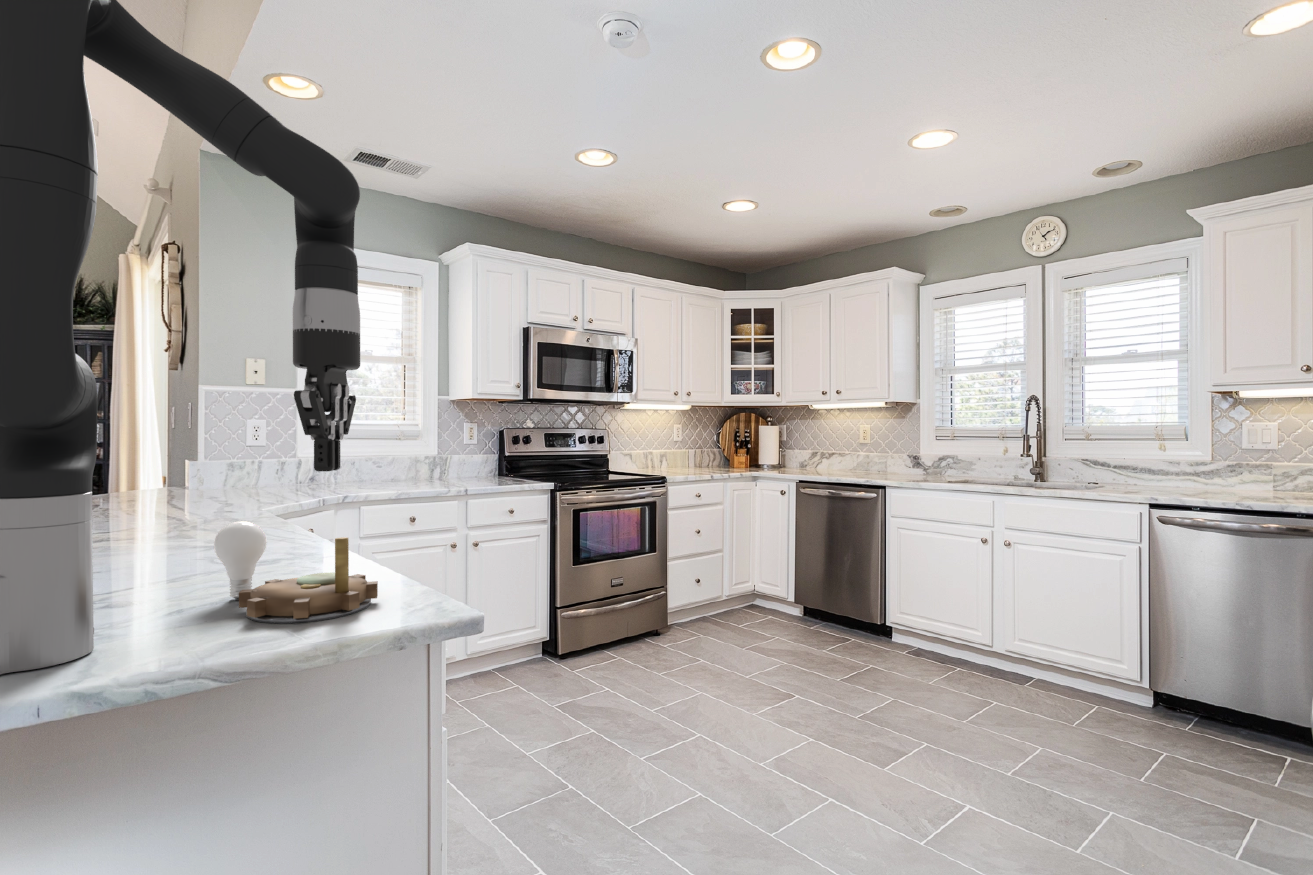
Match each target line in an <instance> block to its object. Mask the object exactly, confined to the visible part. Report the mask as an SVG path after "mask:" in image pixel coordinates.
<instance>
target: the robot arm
mask: <svg viewBox="0 0 1313 875" xmlns="http://www.w3.org/2000/svg"><path fill="white" fill-rule="evenodd" d="M84 58H87V59H89V60H91V61H93V62H94V63H96V64H98V65H100V66H101V67H103V68H105V69H106V70H107V71H109V72H111V73H113V74H114V75H116V76H117V77H119V79H121V80H123V81H124V82H127V83H128V84H129V85H130V86H133V87H134V88H136V89H137V90H138V91H139V92H141V93H143V94H144V95H145V96H146V97H148V98H150V99H151V100H153V101H154V102H155V103H156V104H158V105H160V106H161V107H162V108H164V110H166V111H168V112H169V113H170V114H172V116H174V117H176V118H177V119H178V120H179V121H181V122H182V123H183V124H184V125H186V126H188V127H189V129H191V130H193V132H195V133H196V134H198V135H199V137H201V138H203V139H204V140H205V141H207V142H208V143H210V144H211V145H212V146H213V147H215V148H216V149H218V151H220V152H221V153H222V154H224V155H226V157H228V158H229V159H230V160H232V161H233V162H235V163H236V164H237V165H238V166H240V167H241V168H242V169H244V170H246V171H247V172H249V173H250V174H253V175H255V176H256V177H266V178H267V179H269V181H272V182H273V183H274V184H276V185H278V186H279V187H280V188H281V189H283V190H284V191H286V192H287V193H288V194H290V195H291V196H292V197H293V203H294V204H293V205H294V207H293V208H294V222H295V223H294V224H295V236H296V240H295V241H296V252H295V259H294V298H293V305H292V364H293V366H294V367H295V368H298V369H304V370H306V373H305V378H304V385H303V387H304V388H303V390H301V389H299V390H296V389H295V391H294V392H293V399H294V403H295V404H296V409H297V412H298V416H299V420H300V422H301V426H302V430H303V434H304V435H305V436H310V440H312V441H313V469H314V470H315V471H316V472H333V471H338V470H340V469H341V441H342V440H344V436H345V435H348V434H349V432H350V427H351V424H352V419H353V414H354V411H355V406H356V401H357V397H356V395H355V394H350V386H349V383H348V379H347V378H348V377H347V371H355V370H358V369H359V368H360V367H361V312H360V304H359V303H360V302H359V296H358V295H359V294H358V293H359V292H358V291H359V276H358V274H359V266H358V260H357V259H358V258H357V255H356V253H355V250H354V249H355V217H356V210H357V208H358V205H359V204H360V203H359V202H360V198H361V190H360V186H359V182H358V181H357V179H356V176H354V174H353V173H352V172H351V170H350V169H349V168H348V167H347V166H346V165H345V164H344V163H343V162H342V161H341V160H339V159H338V158H337V157H336V156H334V155H333V154H331V153H330V152H328V151H327V150H325V149H324V148H323V147H321V146H319V145H317V144H316V143H315V142H312V141H311V140H309V139H308V138H305V137H304V136H303V135H301V134H299V133H297V132H294V131H293V130H291V129H289V128H288V127H287V126H285V125H284V124H283V123H282V122H281V121H280V120H278V118H276V117H275V116H274V115H272V113H270V112H268V110H266V109H265V108H264V107H263V106H262V105H261V104H259V103H258V102H256V101H255V100H254V99H253V98H251V97H250V96H249V95H248V94H246V93H245V92H243V91H242V90H241V89H240V88H238V87H237V86H236V85H235V84H234V83H232V82H230V81H229V80H227V79H226V78H224V77H222V76H221V75H219V74H217V73H216V72H214V71H212V70H210V69H209V68H207V67H205V66H203V65H201V64H199V63H198V62H196V61H194V60H192V59H190V58H188V57H187V56H185V55H183V54H181V53H180V52H178V51H176V50H175V49H173V48H172V47H170V46H168V45H167V44H166V43H164V42H163V41H162V40H160V39H159V38H157V36H155V35H154V34H153V33H151V32H150V31H149V30H148V29H146V28H145V27H144V26H143V25H142V24H141V23H140V22H139V21H138V20H137V19H136V18H135V17H134V16H132V14H130V12H129V11H127V9H125V7H124V6H123V5H122V4H121V3H120V2H119V1H118V0H0V675H4V674H8V673H13V672H23V671H30V670H36V669H42V668H48V667H52V666H56V665H59V664H60V665H61V664H64V663H67V662H71V661H74V660H76V659H80V658H81V657H84V656H86V655H88V654H90V653H91V652H92V651H94V648H95V646H94V645H95V644H94V643H95V642H94V640H95V638H94V637H95V636H94V635H95V627H94V626H95V625H94V565H93V564H94V562H93V561H94V560H93V559H94V558H93V557H94V556H93V553H94V551H93V542H94V541H93V476H94V470H95V466H96V461H97V455H98V452H97V451H98V405H99V404H98V388H97V387H98V386H97V381H96V378H95V375H94V372H93V370H92V369H91V367H90V366H89V365H88V363H87V362H86V361H85V360H84V359H83V358H82V357H81V356H80V355H79V354H77V353H76V350H75V348H76V346H75V339H74V318H73V317H74V314H73V313H74V311H73V310H74V309H73V307H74V295H75V294H74V293H75V287H76V283H77V279H78V275H79V274H80V270H81V268H82V265H83V262H84V261H85V260H84V259H85V257H86V254H87V251H88V248H89V246H90V242H91V239H92V236H93V231H94V228H95V227H94V226H95V223H96V214H97V200H98V183H99V182H98V181H99V177H98V175H99V168H98V167H99V166H98V164H99V163H98V150H97V145H96V136H95V129H94V122H93V117H92V116H93V115H92V111H91V107H90V101H89V95H88V91H87V85H86V76H85V67H84V66H85V65H84V64H85V63H84ZM326 413H328V414H326Z"/></svg>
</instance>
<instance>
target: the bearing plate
mask: <svg viewBox="0 0 1313 875" xmlns="http://www.w3.org/2000/svg"><path fill="white" fill-rule="evenodd" d="M371 604H372V599H366V600H365V601H363V602H362V603H360V604H359V608H357V609H353V610H350V611H348V610H343V609H341V610H337V611H332V612H326V613H319V614H311V615H309V617H308V618H296V619H293V616H270V615H264V616H260V617H256V618H254V617H249V616H247V609H246V610H245V616H246V618H247V619H249V620H250V621H253V622H257V623H265V624H277V625H278V624H284V625H285V624H286V625H287V624H301V623H302V624H304V623H312V622H313V623H315V622H320V621H327V620H332V619H338V618H342V617H347V616H349V615H352V614H356V613H358V612H361V611H364V610H365V609H367V608H369V606H371Z"/></svg>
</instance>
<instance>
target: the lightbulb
mask: <svg viewBox="0 0 1313 875" xmlns="http://www.w3.org/2000/svg"><path fill="white" fill-rule="evenodd" d="M267 540H268V539H267V535H266V533H265V532H264V530H263V528H261V526H259V525H258V524H256V523H255V522H252V521H249V520H248V521H246V520H237V521H233V522H230V523H228V524H226V525H225V526H223V527H222V528H221V529H220V530H219V531H218V532H217V534H216V536H215V538H214V541H213V549H214V553H215V555H216V557H217V558H218V560H219V561H220V562H221V564H223V566H224V569H225V571H226V575H227V577H228V579H229V588H230V589H229V591H230V592H229V596H230V597H231V598H233V599H236V600H238V601H239V592H240V591H241V590H247V589H253V588H252V587H253V585H252V584H253V582H252V581H253V575H254V574H255V571H256V567H257V564H258V563H259V561H260V559H261V558H262V557H263V555H264V553H265V551H266V549H267V544H268V541H267Z"/></svg>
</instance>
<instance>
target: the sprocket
mask: <svg viewBox="0 0 1313 875" xmlns="http://www.w3.org/2000/svg"><path fill="white" fill-rule="evenodd" d="M349 542H350V541H349V537H346V536H345V537H344V536H343V537H336V538H334V572H319V573H318V572H317V573H310V574H306V575H301V576H299V577H293V578H287V579H279V578H278V579H275V578H274V579H270V580H266V581H264V584H261V585H259V586H256V587H254V588H252V589H247V590H241V591H240V592H239V600H238V608H239V609H242V608H244V609H245V608H246V610H247V616H249V617H254V618H256V617H260V616H264V615H270V616H293V619H296V618H308V617H309V615H311V614H319V613H326V612H332V611H337V610H341V609H343V610H348V611H350V610H353V609H357V608H359V604H360V603H362V602H363V601H365V600H366V599H371V600H373V599H378V592H379V591H378V590H379V589H378V587H379V586H378V585H379V584H378V581H377V580H376V581H367V580H366V579H367V578H366V574H358V573H357V574H353V575H349V566H350V565H349V561H350V560H349V558H350V557H349V553H350V552H349V548H350V547H349V545H350V544H349Z"/></svg>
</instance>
